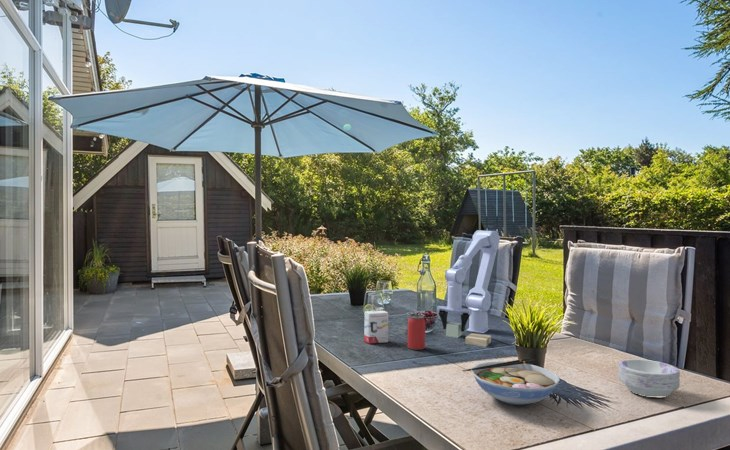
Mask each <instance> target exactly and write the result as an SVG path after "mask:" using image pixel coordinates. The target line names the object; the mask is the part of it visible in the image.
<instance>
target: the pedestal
mask: <svg viewBox="0 0 730 450" xmlns="http://www.w3.org/2000/svg"><path fill="white" fill-rule="evenodd" d="M491 343H492V335H489V334H483V333H476V332H470V334H468V335H467V336H465V343H464V344H465V345H469V344H470V345H471V346H479V347H484V348H487V347H488V345H490V344H491Z"/></svg>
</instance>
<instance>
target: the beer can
mask: <svg viewBox="0 0 730 450" xmlns="http://www.w3.org/2000/svg"><path fill="white" fill-rule="evenodd" d="M426 324H427V323H426V319H425V316H424V315H421V314H411V315H409V317H408V320H407V343H406V344H407V349H410V350H413V351H422V350H424V349H425V348H426Z"/></svg>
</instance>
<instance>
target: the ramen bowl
mask: <svg viewBox="0 0 730 450" xmlns="http://www.w3.org/2000/svg"><path fill="white" fill-rule="evenodd" d="M530 363H531V364H530ZM532 363H536V359H532V358H531V357H525V358H522V359H514V360H510V361H507V360H505V361H504V360H501V361H500V360H498V361H497V360H496V361H495V360H494V361H485V362H482V363H478V364H476V365H475V366H473V367H472V368H468V369H463V370H461V371H462V372H472V375H473V377H474V379H475V381H476V382H477V384H478V386H479V387H480V388H481V390H483V391H484V392H486V393H487V394H488V395H489V396H490V397H491V398H494V399H497V400H499V401H501V402H503V403H505V404H507V405H511V406H512V405H513V406H525V405H528V404H534V403H538V402H541V401H542V400H545V399H547V397H549V395H550V394H552V392H553V391H554V389H556V387H557V386H558V384H559V383H560V380H561V379H560V377H559V376H558V375H557V374H556V373H555V372H554V371H551V370H549V369H547V368H545V367H541V366H539V365H534V364H532Z"/></svg>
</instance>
